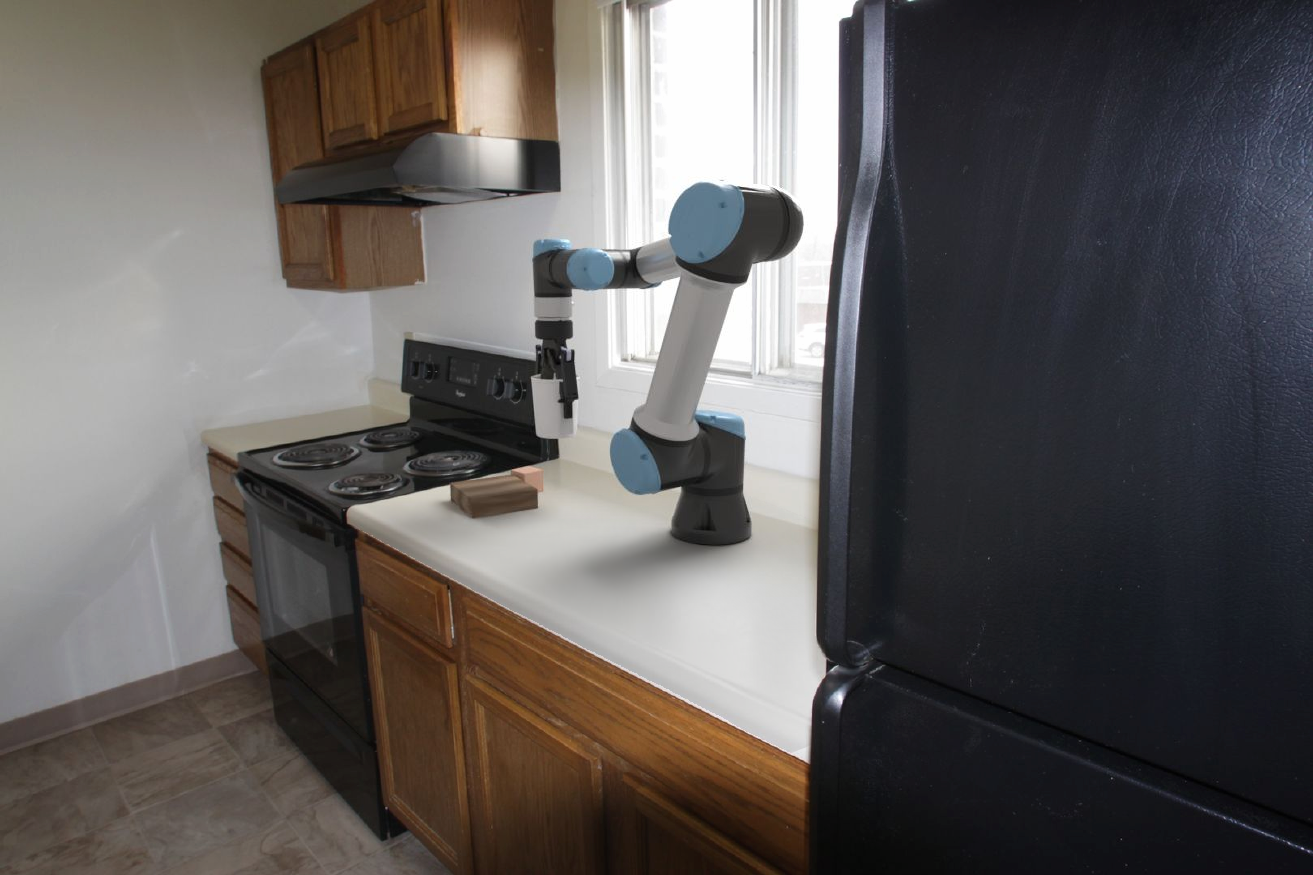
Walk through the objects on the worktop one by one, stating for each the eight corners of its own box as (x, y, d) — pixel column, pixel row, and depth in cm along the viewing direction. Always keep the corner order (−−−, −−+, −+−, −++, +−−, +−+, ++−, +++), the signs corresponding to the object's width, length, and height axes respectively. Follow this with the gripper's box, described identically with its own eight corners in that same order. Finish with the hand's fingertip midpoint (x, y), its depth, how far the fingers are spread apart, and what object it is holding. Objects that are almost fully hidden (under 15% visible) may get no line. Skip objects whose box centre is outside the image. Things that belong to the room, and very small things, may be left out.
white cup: (572, 440, 162) (571, 380, 160) (525, 438, 164) (523, 378, 162) (586, 431, 172) (585, 374, 169) (542, 429, 174) (540, 372, 171)
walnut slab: (538, 507, 170) (537, 489, 169) (472, 518, 163) (471, 498, 162) (513, 491, 182) (512, 474, 181) (450, 500, 174) (450, 482, 174)
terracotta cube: (543, 491, 182) (542, 469, 181) (525, 496, 179) (524, 473, 178) (529, 487, 186) (528, 465, 185) (511, 491, 182) (510, 469, 181)
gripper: (595, 321, 156) (596, 437, 160) (548, 315, 174) (551, 419, 179) (559, 322, 152) (561, 441, 157) (515, 316, 170) (519, 423, 175)
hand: (556, 430), depth 168 cm, fingers closed on white cup, 9 cm apart
